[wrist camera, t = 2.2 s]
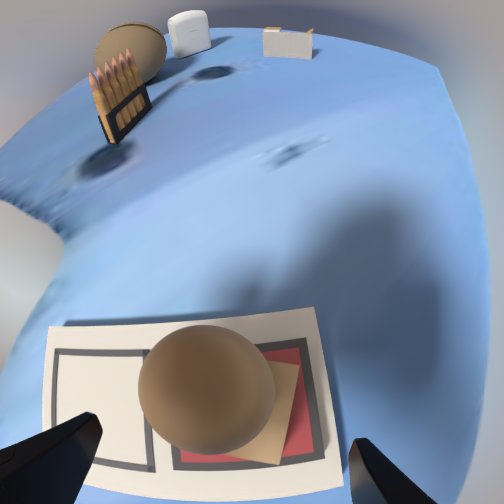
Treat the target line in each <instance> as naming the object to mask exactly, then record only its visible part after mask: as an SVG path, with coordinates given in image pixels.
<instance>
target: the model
mask: <svg viewBox="0 0 504 504" xmlns="http://www.w3.org/2000/svg"><path fill="white" fill-rule="evenodd" d="M280 31H281V28H279V27H266V28H265V29H264V31H263V53H264V56H269V57H288V58H301V59H311V60H312V38H313V34H311V32H313V29H311V30H309V31H308V32H306V33H305V34H304V33H290V32H280Z"/></svg>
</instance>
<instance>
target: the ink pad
mask: <svg viewBox="0 0 504 504" xmlns="http://www.w3.org/2000/svg"><path fill="white" fill-rule="evenodd" d="M254 345H255V346H256V347H257V348H258V349H259V350H260V352H261V353H262V354H263V356H264V357H265V359H266V360H269V361H275V362H281V363H288V364H294V365H300V366H299V372H298V378H297V383H296V388H295V394H294V399H293V404H292V409H291V414H290V419H289V424H288V428H287V433H286V438H285V442H284V447H283V451H282V455H281V460H280V464H279V465H276V464H269V463H263V462H258V461H252V460H247V459H242V458H237V457H233V456H229V455H224V454H218V455H200V454H194V453H190V452H187V451H184V450H181V449H179V448H177V447H175V446H173V445H171V453H172V463H173V470H179V471H233V470H249V469H261V468H270V467H278V466H286V465H293V464H299V463H305V462H310V461H316V460H321V459H325V453H324V446H323V438H322V431H321V425H320V418H319V411H318V405H317V398H316V392H315V386H314V380H313V374H312V368H311V362H310V356H309V351H308V345H307V339H306V337H304V338H298V339H291V340H284V341H276V342H269V343H261V344H254Z"/></svg>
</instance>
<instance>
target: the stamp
mask: <svg viewBox="0 0 504 504" xmlns="http://www.w3.org/2000/svg"><path fill="white" fill-rule="evenodd" d="M299 366H300V365H294V364H288V363H281V362H275V361H269V360H266V359H265V357H264V356H263V354H262V353H261V352H260V350H259V349H258V348H257V347H256V346H255V345H254V344H253V343H252V342H250V341H249V340H248V339H246V338H245V337H244V336H242V335H240V334H238V333H237V332H235V331H232V330H230V329H227V328H223V327H220V326H213V325H194V326H188V327H184V328H181V329H178V330H176V331H174V332H172V333H170V334H168V335H167V336H165V337H164V338H162V339H161V340H160V341H159V342H158V343H157V344H156V345H155V346H154V347H153V348H152V349H151V351H150V352H149V353H148V355H147V356H146V358H145V360H144V362H143V365H142V367H141V370H140V374H139V380H138V396H139V402H140V405H141V408H142V411H143V413H144V415H145V417H146V419H147V421H148V422H149V424H150V425H151V427H152V428H153V429H154V430H155V432H156V433H157V434H158V435H159V436H160V437H162V438H163V439H164V440H165V441H167V442H168V443H170V444H171V445H173V446H175V447H177V448H179V449H181V450H184V451H187V452H190V453H194V454H200V455H218V454H224V455H229V456H233V457H237V458H242V459H247V460H252V461H258V462H263V463H269V464H276V465H279V464H280V460H281V455H282V451H283V447H284V442H285V438H286V433H287V428H288V424H289V419H290V414H291V409H292V404H293V399H294V394H295V388H296V383H297V378H298V372H299Z"/></svg>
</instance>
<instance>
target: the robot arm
mask: <svg viewBox="0 0 504 504" xmlns="http://www.w3.org/2000/svg"><path fill="white" fill-rule="evenodd" d="M102 434H103V428H102V426H101V424H100V421H99V419H98V417H97V415H96V414H94V413H91V412H84V413H82V414H80V415H78V416H76V417H74V418H72V419H69V420H67V421H65V422H63V423H61V424H59V425H57V426H55V427H52V428H50V429H48V430H46V431H44V432H42V433H39V434H37V435H35V436H33V437H30V438H28V439H26V440H23V441H21V442H19V443H17V444H14V445H11V446H9V447H6V448H4V449H1V450H0V504H74V502H75V500H76V498H77V496H78V493H79V491H80V489H81V487H82V485H83V483H84V480H85V478H86V476H87V474H88V472H89V470H90V468H91V465H92V463H93V460H94V458H95V455H96V452H97V449H98V446H99V443H100V440H101V437H102ZM349 471H350V485H351V496H352V502H353V504H437V503H436V502H435V501H434V500H433V499H431V498H430V497H429V496H427V494H426V493H425V492H423V491H422V490H421V489H420V488H419V487H418V486H417V485H416V484H415V483H414V482H412V481H411V480H410V479H409V478H408V477H407V476H406V475H405V474H404V473H403V472H402V471H401V470H400V469H398V468H397V467H396V466H395V465H394V464H393V463H392V462H391V461H390V460H389V459H388V458H387V457H386V456H385V455H384V454H383V453H382V452H381V451H380V450H379V449H378V448H377V447H376V446H375V445H374V444H372V443H371V442H370V441H369V440H368V439H367V438H357V439H355V440H354V441H353V443H352V446H351V449H350V452H349Z"/></svg>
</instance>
